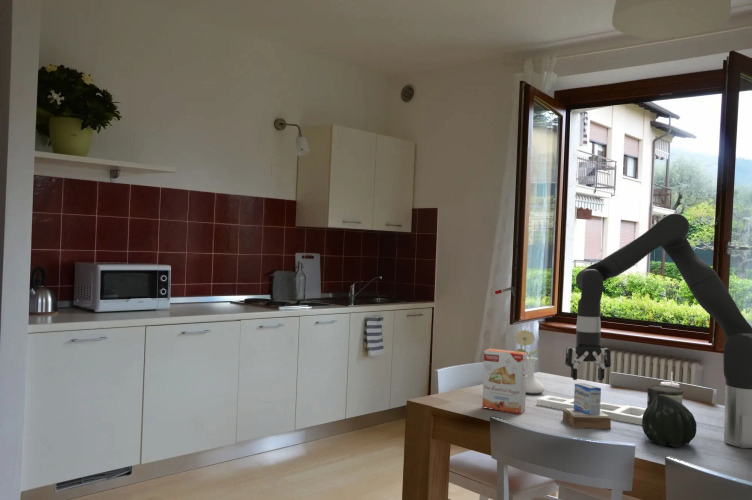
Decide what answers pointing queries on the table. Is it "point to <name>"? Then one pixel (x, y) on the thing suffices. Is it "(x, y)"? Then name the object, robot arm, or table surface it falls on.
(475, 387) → the table surface
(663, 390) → the coffee can
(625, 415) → the holder
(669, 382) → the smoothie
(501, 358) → the cracker box
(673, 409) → the squash
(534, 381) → the flower in vase
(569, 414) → the plinth
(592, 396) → the medicine box
